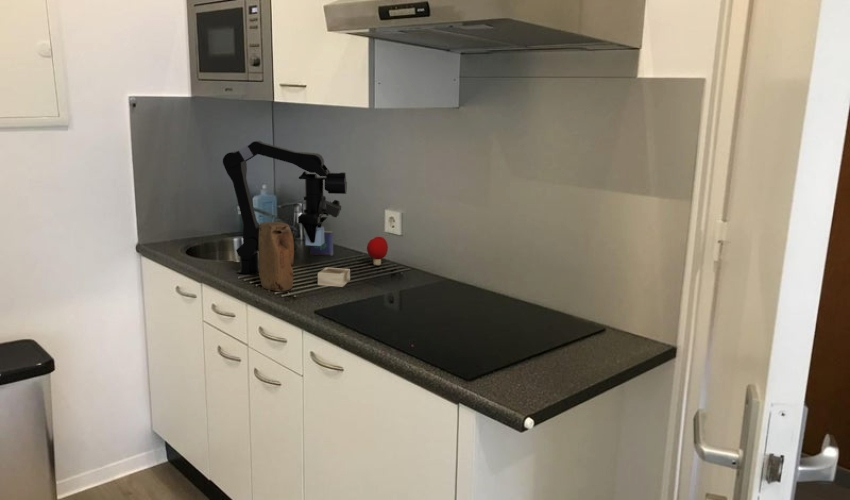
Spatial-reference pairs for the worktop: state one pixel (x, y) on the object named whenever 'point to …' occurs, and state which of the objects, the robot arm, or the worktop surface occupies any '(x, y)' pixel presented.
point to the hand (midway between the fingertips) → (314, 240)
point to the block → (276, 256)
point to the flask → (324, 245)
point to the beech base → (334, 277)
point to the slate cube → (318, 240)
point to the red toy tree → (377, 249)
